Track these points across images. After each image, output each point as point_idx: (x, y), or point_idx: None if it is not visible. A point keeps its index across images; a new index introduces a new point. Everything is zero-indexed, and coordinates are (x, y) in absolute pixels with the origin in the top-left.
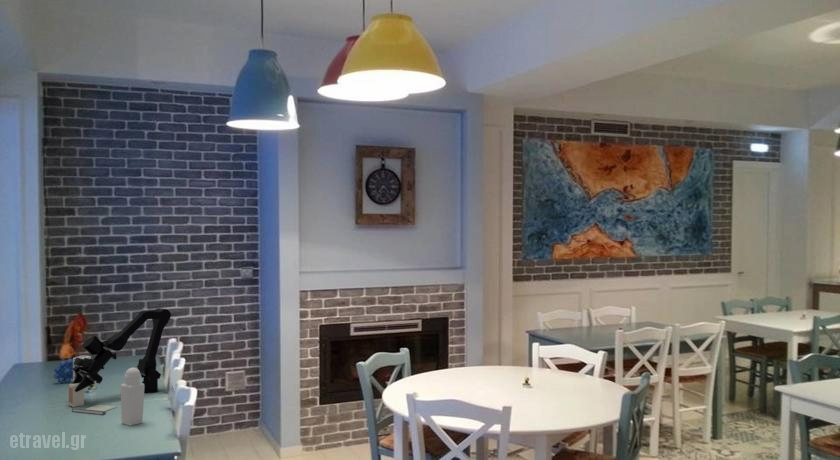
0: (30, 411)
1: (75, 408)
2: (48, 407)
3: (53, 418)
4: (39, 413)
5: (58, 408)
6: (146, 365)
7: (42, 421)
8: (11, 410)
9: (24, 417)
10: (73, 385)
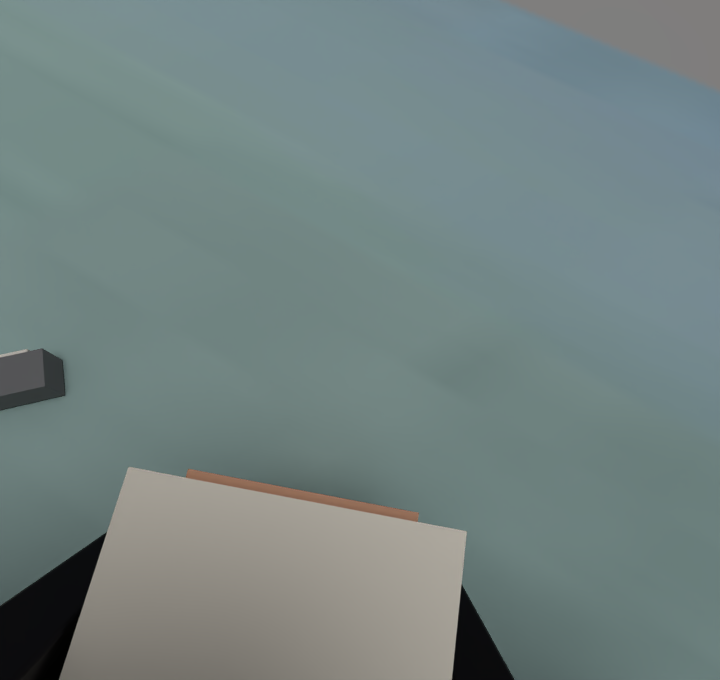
0: (488, 152)
1: (9, 383)
2: (499, 327)
3: (30, 120)
4: (336, 153)
5: (356, 362)
6: None
7: (45, 29)
8: (666, 95)
9: (323, 30)
10: (214, 540)
